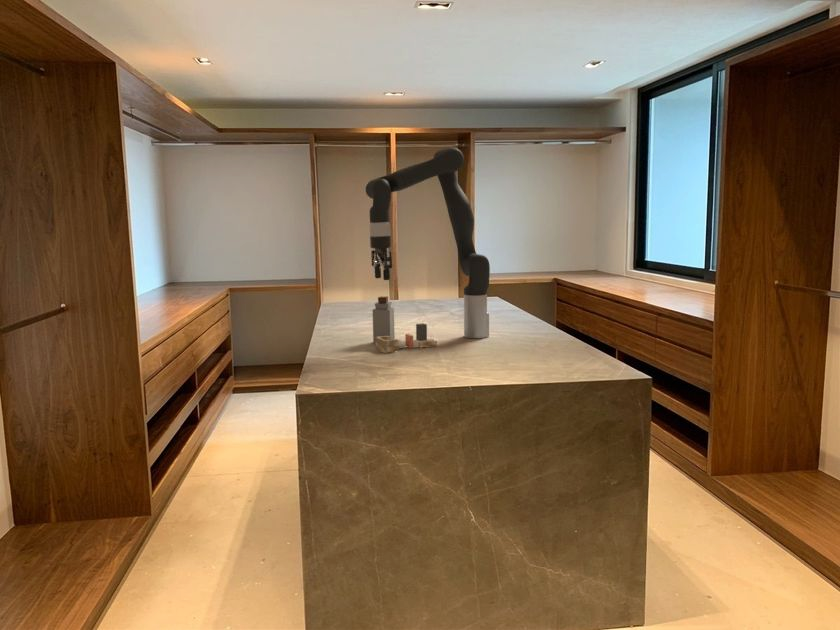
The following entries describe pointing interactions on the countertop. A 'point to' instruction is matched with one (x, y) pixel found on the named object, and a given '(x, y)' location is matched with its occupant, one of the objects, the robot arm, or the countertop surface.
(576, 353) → the countertop surface
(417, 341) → the gray block
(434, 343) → the rail guide
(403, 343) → the ball
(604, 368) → the countertop surface
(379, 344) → the box
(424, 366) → the countertop surface
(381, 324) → the perfume bottle
